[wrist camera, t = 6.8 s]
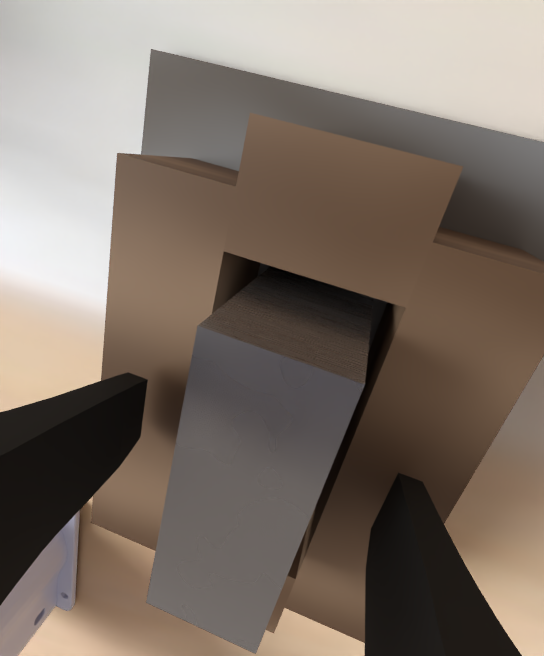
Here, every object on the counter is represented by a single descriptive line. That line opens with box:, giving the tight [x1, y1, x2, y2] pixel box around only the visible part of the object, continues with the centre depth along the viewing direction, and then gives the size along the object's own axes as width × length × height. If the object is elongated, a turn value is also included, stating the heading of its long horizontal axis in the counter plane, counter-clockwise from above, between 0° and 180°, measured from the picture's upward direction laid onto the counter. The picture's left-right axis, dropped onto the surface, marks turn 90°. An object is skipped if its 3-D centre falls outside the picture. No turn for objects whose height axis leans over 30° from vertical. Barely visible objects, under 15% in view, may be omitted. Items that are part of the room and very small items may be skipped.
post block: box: [91, 49, 544, 643], centre depth 13 cm, size 18×14×5 cm
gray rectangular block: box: [146, 266, 374, 654], centre depth 12 cm, size 8×3×7 cm, turn 165°
